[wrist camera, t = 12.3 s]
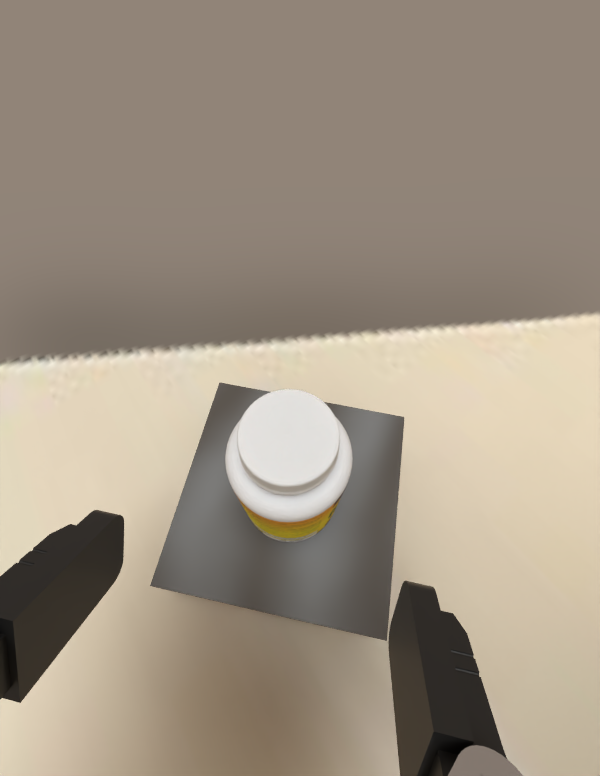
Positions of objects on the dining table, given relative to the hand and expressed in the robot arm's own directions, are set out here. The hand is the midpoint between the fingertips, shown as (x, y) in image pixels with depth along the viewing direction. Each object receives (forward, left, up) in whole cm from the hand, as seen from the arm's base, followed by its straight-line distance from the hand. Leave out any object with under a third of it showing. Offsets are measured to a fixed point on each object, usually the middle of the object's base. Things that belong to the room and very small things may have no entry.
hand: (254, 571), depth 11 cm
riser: (0, -5, -17) cm, 18 cm away
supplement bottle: (0, -5, -12) cm, 13 cm away
